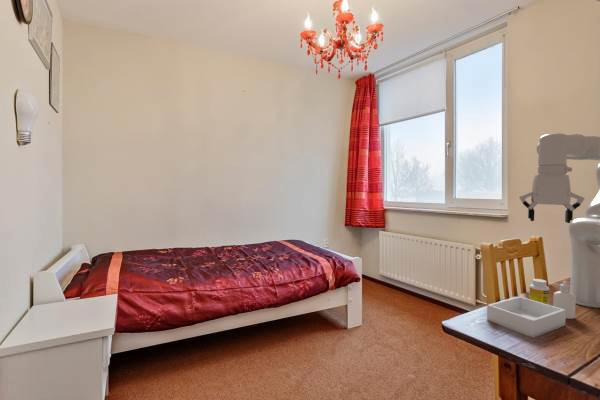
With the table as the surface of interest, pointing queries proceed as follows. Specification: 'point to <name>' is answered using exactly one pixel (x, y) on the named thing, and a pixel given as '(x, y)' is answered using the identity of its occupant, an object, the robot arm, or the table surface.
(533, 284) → the supplement bottle
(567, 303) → the eye dropper bottle
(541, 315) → the box
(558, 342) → the table surface
